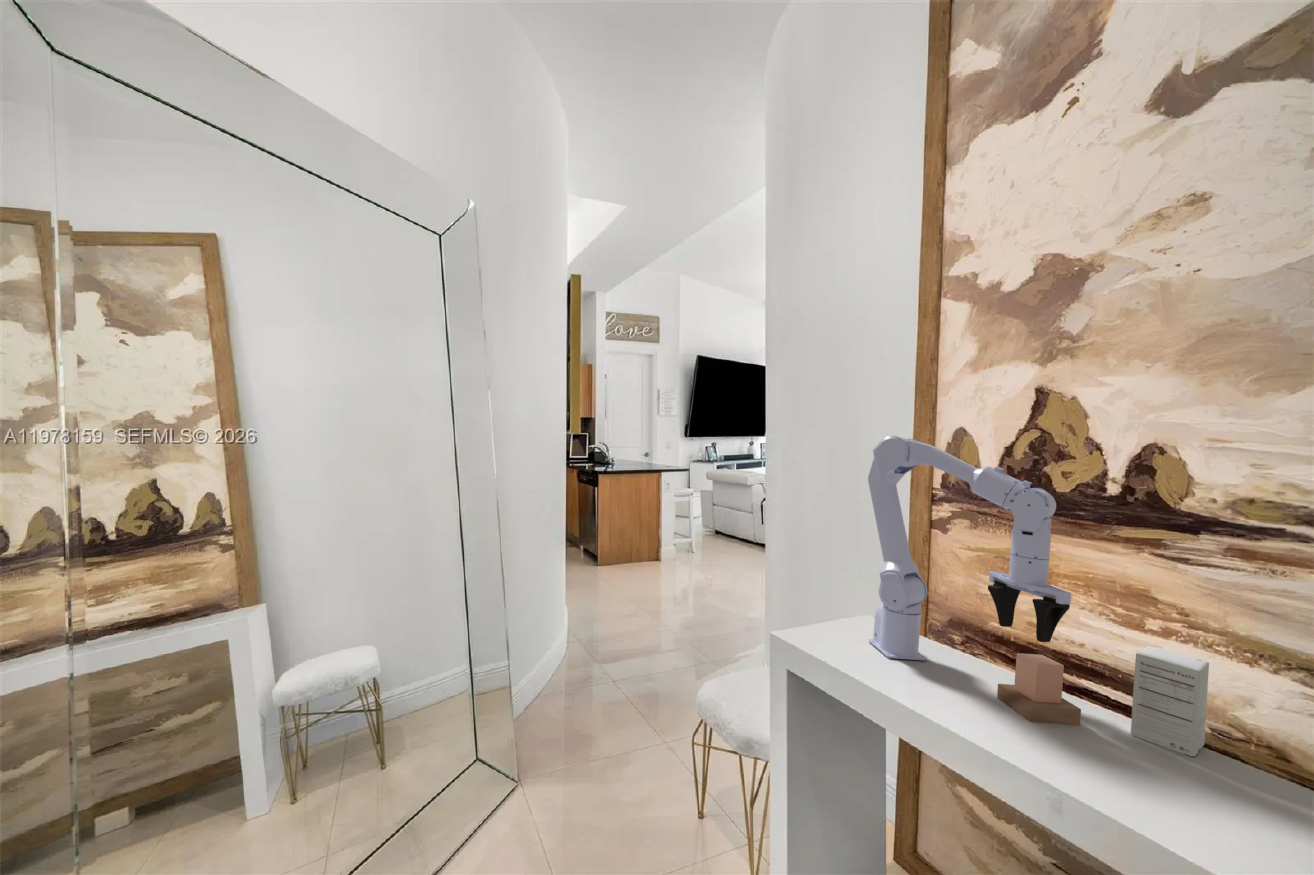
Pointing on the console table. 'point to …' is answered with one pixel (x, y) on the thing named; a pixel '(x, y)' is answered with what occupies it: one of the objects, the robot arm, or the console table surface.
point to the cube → (1039, 678)
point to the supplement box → (1170, 700)
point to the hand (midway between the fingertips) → (1023, 633)
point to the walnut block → (1039, 707)
